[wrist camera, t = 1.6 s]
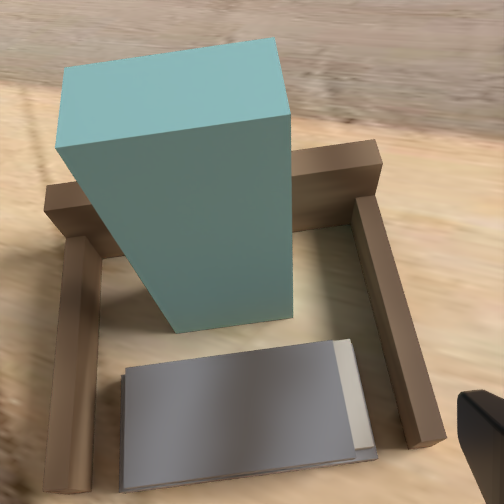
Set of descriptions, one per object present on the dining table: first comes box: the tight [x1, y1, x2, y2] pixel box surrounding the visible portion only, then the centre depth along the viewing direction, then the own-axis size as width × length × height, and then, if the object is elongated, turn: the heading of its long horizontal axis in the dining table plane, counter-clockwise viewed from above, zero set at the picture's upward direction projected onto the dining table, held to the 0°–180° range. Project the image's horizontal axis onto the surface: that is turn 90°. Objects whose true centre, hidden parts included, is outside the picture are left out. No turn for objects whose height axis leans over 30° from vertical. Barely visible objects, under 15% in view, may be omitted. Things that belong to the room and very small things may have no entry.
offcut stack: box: [119, 339, 378, 493], centre depth 21 cm, size 11×5×2 cm, turn 97°
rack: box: [43, 139, 447, 494], centre depth 22 cm, size 16×13×5 cm
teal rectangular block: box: [55, 37, 293, 334], centre depth 19 cm, size 6×3×14 cm, turn 96°
